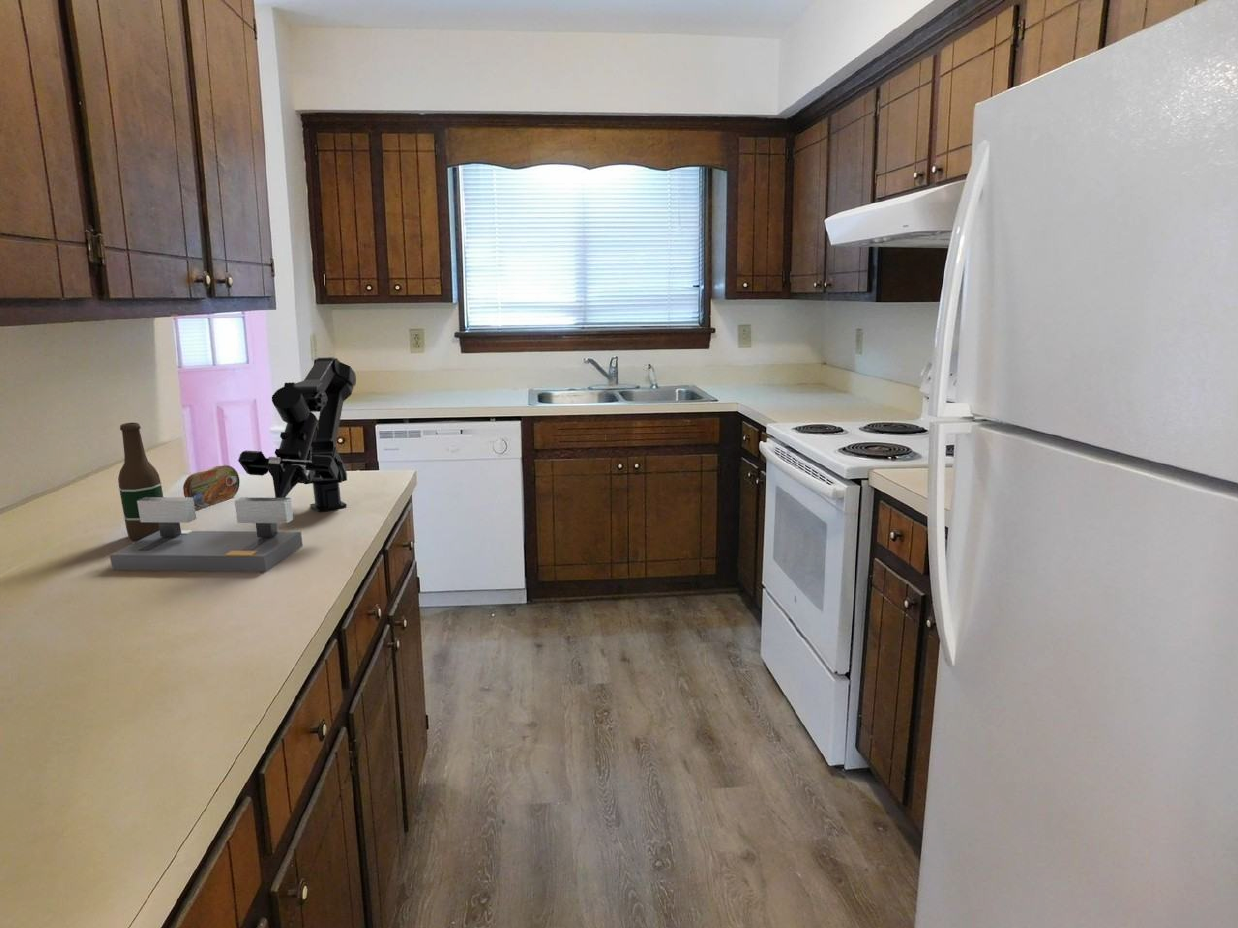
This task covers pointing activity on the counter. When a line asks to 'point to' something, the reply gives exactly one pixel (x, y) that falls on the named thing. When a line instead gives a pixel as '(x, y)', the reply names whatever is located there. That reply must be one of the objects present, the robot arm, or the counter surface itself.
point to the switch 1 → (167, 513)
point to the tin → (212, 485)
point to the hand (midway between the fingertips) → (278, 501)
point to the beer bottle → (136, 482)
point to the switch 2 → (264, 513)
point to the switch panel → (207, 551)
